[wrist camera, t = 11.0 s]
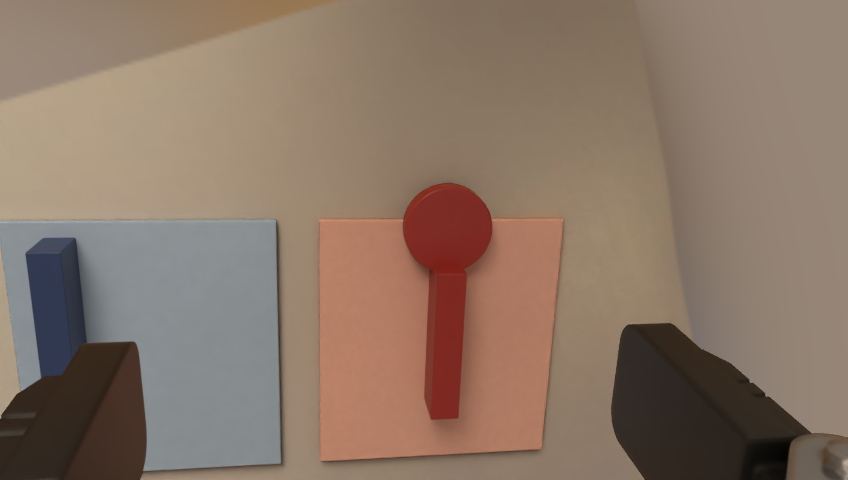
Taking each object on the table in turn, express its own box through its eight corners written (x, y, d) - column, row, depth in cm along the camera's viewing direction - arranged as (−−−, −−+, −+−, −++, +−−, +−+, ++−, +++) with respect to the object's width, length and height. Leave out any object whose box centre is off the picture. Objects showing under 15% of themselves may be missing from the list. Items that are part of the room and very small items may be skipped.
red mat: (319, 219, 34) (319, 221, 34) (561, 218, 36) (564, 220, 36) (320, 457, 38) (320, 461, 38) (539, 445, 40) (541, 449, 40)
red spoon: (403, 182, 34) (409, 193, 32) (490, 183, 35) (502, 193, 33) (397, 399, 37) (402, 421, 35) (476, 395, 38) (486, 417, 36)
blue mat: (0, 219, 32) (-4, 222, 32) (276, 219, 34) (275, 221, 34) (34, 473, 36) (31, 477, 36) (281, 459, 38) (281, 463, 38)
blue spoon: (129, 456, 36) (118, 483, 34) (38, 461, 35) (21, 489, 33) (109, 237, 33) (95, 251, 31) (8, 237, 32) (-12, 253, 30)
